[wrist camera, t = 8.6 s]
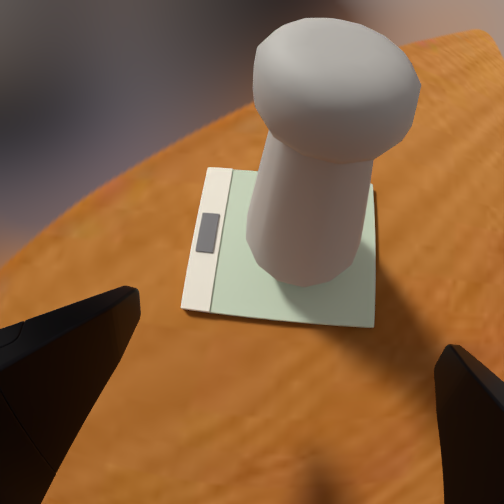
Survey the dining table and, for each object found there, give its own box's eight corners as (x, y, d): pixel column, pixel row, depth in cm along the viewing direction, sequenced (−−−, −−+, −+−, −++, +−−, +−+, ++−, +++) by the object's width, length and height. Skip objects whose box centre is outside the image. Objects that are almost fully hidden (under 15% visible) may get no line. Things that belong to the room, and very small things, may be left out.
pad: (371, 327, 17) (375, 326, 16) (182, 309, 18) (180, 307, 17) (371, 187, 20) (373, 182, 19) (209, 171, 21) (207, 166, 20)
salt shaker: (355, 214, 19) (442, 29, 7) (339, 306, 17) (480, 174, 5) (261, 191, 19) (254, -13, 7) (235, 281, 18) (174, 101, 5)
